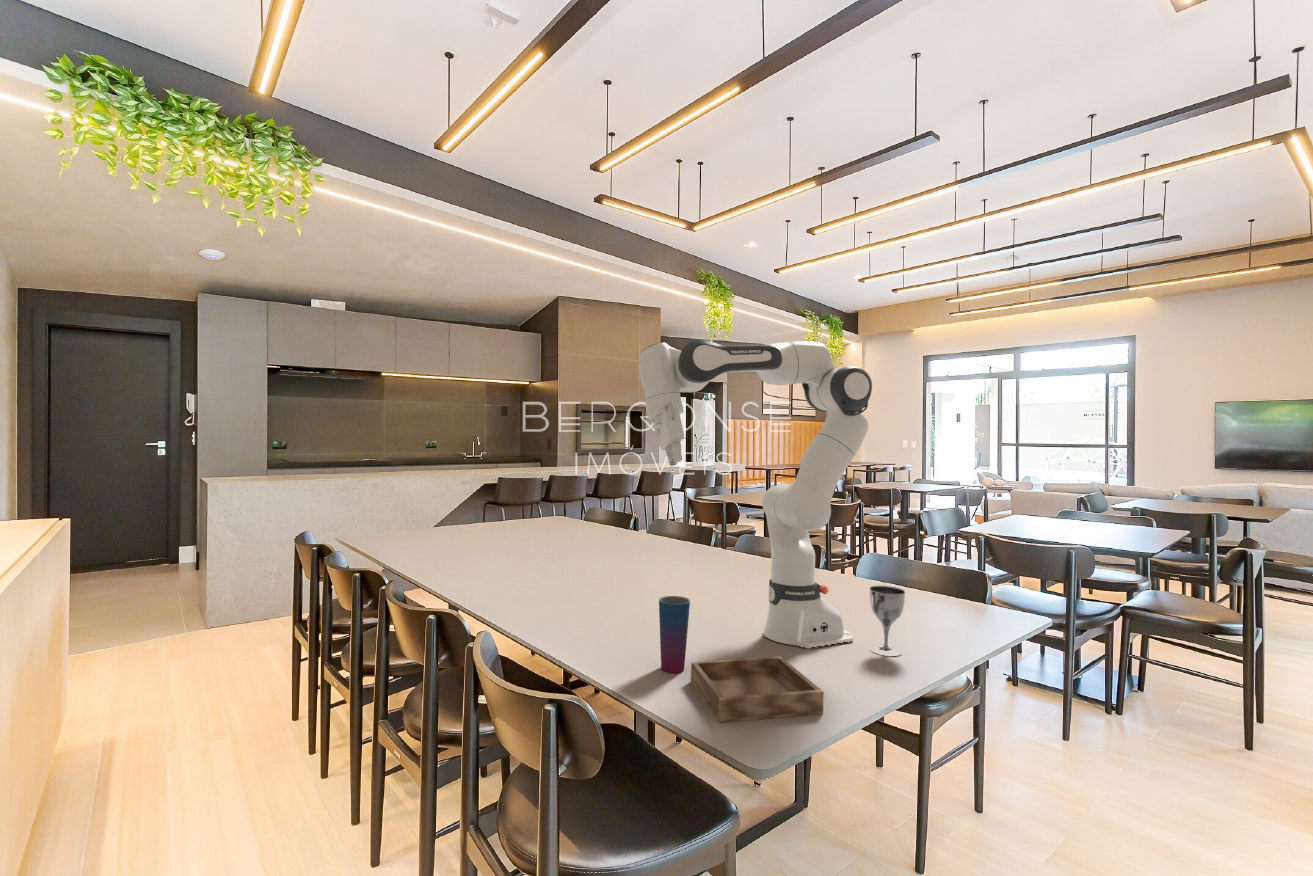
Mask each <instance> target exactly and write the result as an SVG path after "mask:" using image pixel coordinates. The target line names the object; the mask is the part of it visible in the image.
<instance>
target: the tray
mask: <svg viewBox="0 0 1313 876" xmlns="http://www.w3.org/2000/svg"><path fill="white" fill-rule="evenodd" d="M690 682H691V683H692V685H693V687H694V688H695V690H696V691H697V692H698V693H699V695H700V697H701V698H702V699H703V701H704V702H705V703H706V705H707V706H708V708H709V709H710V710H711V712H712V713H713V714H714V716H715V718H716V719H717V721H718V722H719V723H720V724H722V723H723V724H724V723H733V722H734V723H735V722H745V721H754V720H755V721H756V720H757V721H758V720H767V719H768V720H769V719H776V718H777V719H778V718H779V719H780V718H788V717H791V718H792V717H799V716H810V715H811V714H813V715H822V714H821V713H823V714H824V692H825V691H824V690H822V689H821V688H819V686H817V685H816V684H815V683H814V682H813V681H812V680H810V679H809V678H808V677H806V676H805V675H804V674H803V673H801V671H799V670H798V669H797V668H795V666H793V665H792V664H791V663H790V662H788V661H787V660H786V659H785V658H783V657H782V656H764V657H749V658H747V657H746V658H736V659H735V658H734V659H733V658H732V659H730V658H729V659H718V660H716V659H715V660H704V661H703V660H701V661H691V663H690ZM811 716H812V715H811Z"/></svg>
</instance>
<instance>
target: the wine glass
mask: <svg viewBox="0 0 1313 876" xmlns="http://www.w3.org/2000/svg"><path fill="white" fill-rule="evenodd" d="M905 598H906V592H905V590H904V589H902V588H900V587H895V586H889V585H873V586H870V587H869V600H870V601H869V602H870V608H871V611H872V613H873V614H874V616H875V617H876V619H877V620H878V621H879V622H880V624H881V625H882V629H883V634H884V635H883V637H884V638H883V639H884V641H883V642H884V644H883V647H879V648H880V649H879V650H884V651H889V650H892V649H891V648H892V647H890V648H889V634H890V633H889V632H890V628H891V627H892V626H893V624H894V623H896V621H897V620H898V619H899V618H900V617H901V616H902V614H903V611H904V608H905V601H906V600H905Z"/></svg>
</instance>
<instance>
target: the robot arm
mask: <svg viewBox="0 0 1313 876" xmlns="http://www.w3.org/2000/svg"><path fill="white" fill-rule="evenodd" d="M638 368H639V369H638V370H639V376H640V383H641V385H642V388H643V389H644V402H645V406H646V413H647V417H648V419H649V421H650V423H651V424H653V429H654V432H655V435H656V439H657V443H658V446H659V448H660V450H661V451H665V454H666V457H667V459H668V464H669V467H675V466H676V465H677V464H678V463H680V462H682V461H683V456H682V455H683V454H682V443H681V442H682V441H683V440H684V439H685V431H684V428H683V422H682V419H681V414H683V413H684V406H683V401H682V397H681V393H696V392H698V391H701V390H703V389H704V388H705V387H706V386H707V385H708V384H709V383H710V382H711V381H712V380H713V379H715V378H716V377H718V376H720V375H723V374H726V373H727V374H728V373H740V372H741V373H742V372H743V373H744V372H746V373H747V372H756V373H757V375H758V377H759V379H761V381H763V382H764V383H765V384H767V385H772V386H773V385H774V386H785V385H786V386H788V385H795V384H796V385H797V384H801V385H802V389H803V390H804V397H805V400H806V402H807V404H808V405H809V407H811V408H812V409H813V410H814V409H815V410H816V411H818V412H819V411H820V412H826V416H825V420H824V423H823V425H822V427H821V428H820V429H819V431H818V432H817V434H816V435H815V437H814V438H813V440H812V441H811V443H810V444H809V445H808V446H807V448H806V450H805V451H804V453H803V454H802V456H801V458H800V461H799V462H800V467H799V470H798V472H797V475H796V477H795V479H794V481H793V483H792V484H790V483H780V484H776V485H774V486H771V487H769V488H768V489H767V490H766V491H765V493H764V494H763V497H762V502H761V503H762V505H761V506H762V510H763V511H764V514H765V517H766V522H767V523H766V525H767V529H768V536H769V543H770V550H771V552H770V555H771V556H770V559H771V560H770V579H769V581H768V602H769V604H768V611H767V617H766V621H765V626H764V629H763V632H762V634H763V636H764V637H765V638H766V639H769V640H771V641H774V642H776V643H781V644H784V645H785V644H786V645H790V646H791V645H792V646H796V645H797V646H796V647H799V646H800V647H799V648H803V647H805V648H804V649H812V648H811V647H815V648H818V647H817V646H821V645H828V646H830V645H829V644H835V645H837V644H836V643H841V642H848V643H850V642H849V641H852V642H854V641H853V635H852V633H850V632H849V631H848V630H847V629H844V623H843V618H842V616H841V614H840V612H839V611H838V610H837V609H835V607H834V606H832V605H831V604H830V603H828V602H827V601H826V600H825V599H824V598H822V595H821V594H823V595H828V593H829V591H830V590H829V589H830V588H829V587H828V586H826V585H823V584H819V583H817V582H816V581H815V580H816V579H815V577H816V572H815V571H816V552H815V549H814V546H813V545H812V542H811V538H810V534H809V532H814V531H819V530H821V529H823V528H824V527H825V526H826V525H827V524H828V522H829V521H830V519H831V516H832V506H831V502H832V499H833V496H834V493H835V489H836V487H837V486H838V483H839V481H840V479H841V478H842V476H843V475H844V473H845V471H846V470H847V469H848V467H849V465H850V464H851V462H852V461H853V459H854V457H855V455H857V453H858V452H859V450H860V448H861V446H862V444H863V442H864V440H865V437H866V435H867V432H868V430H869V422H868V419H867V417H866V416H865V415H864V414H863V413H864V412H865V411H866V410H867V409H868V407H869V400H870V398H871V395H872V390H873V382H872V379H871V376H870V375H869V373H868V372H867V371H865V370H864V369H862V368H859V367H857V366H852V365H851V366H850V365H849V366H848V365H847V366H843V367H837V368H836V366H834V364H833V361H832V354H831V351H830V349H829V347H828V346H826V345H825V344H824V343H822V342H818V341H817V342H816V341H806V340H805V341H804V340H791V341H781V342H773V343H767V344H738V345H737V344H736V345H735V344H734V345H733V344H732V345H731V344H729V345H726V344H719V343H716V342H714V341H711V340H707V339H695V340H694V339H693V340H692V341H689V342H688V343H686V344H685V345H684V347H683V348H682V349H681V350H680V349H677V348H674V347H672V346H670V345H669V344H668V343H666V342H657V343H654V344H650V345H649V346H647V347H646V348H644V349H643V350H642V351H641V352H640V354H639V356H638Z"/></svg>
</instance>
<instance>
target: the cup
mask: <svg viewBox="0 0 1313 876" xmlns="http://www.w3.org/2000/svg"><path fill="white" fill-rule="evenodd" d="M690 604H691V599H690V598H689V597H685V596H682V595H681V596H679V595H666V596H661V597H660V598H659V599H658V611H659V618H658V619H659V639H660V640H659V644H660V645H659V646H660V648H659V649H660V670H661V671H662V672H664V673H666V674H680V673H683V672H684V671H685V664H686V651H687V643H688V642H687V640H688V629H689V620H690V619H689V617H690V607H691V605H690Z"/></svg>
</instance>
